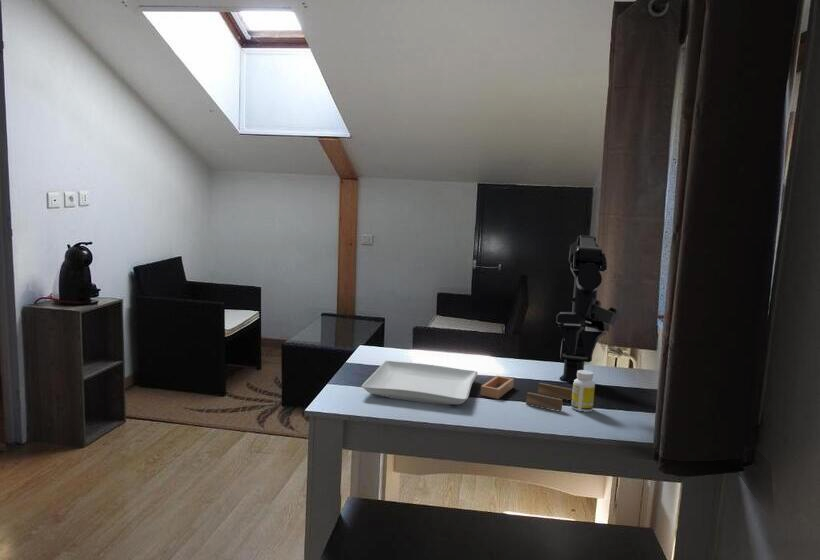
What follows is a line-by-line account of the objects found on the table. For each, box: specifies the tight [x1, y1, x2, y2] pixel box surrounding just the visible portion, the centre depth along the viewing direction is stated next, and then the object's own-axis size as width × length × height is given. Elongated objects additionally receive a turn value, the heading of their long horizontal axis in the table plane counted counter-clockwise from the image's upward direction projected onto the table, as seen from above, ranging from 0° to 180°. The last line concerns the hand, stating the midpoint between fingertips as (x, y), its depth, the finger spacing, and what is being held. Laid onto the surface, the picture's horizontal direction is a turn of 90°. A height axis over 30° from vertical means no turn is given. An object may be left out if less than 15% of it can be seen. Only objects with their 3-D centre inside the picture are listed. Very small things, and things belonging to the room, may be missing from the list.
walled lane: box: [525, 382, 573, 412], centre depth 169 cm, size 11×9×3 cm
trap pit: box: [480, 375, 515, 400], centre depth 176 cm, size 12×5×2 cm, turn 152°
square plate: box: [360, 360, 478, 406], centre depth 174 cm, size 27×27×4 cm
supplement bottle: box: [570, 369, 596, 413], centre depth 165 cm, size 5×5×10 cm
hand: (580, 356), depth 164 cm, fingers open, 9 cm apart
